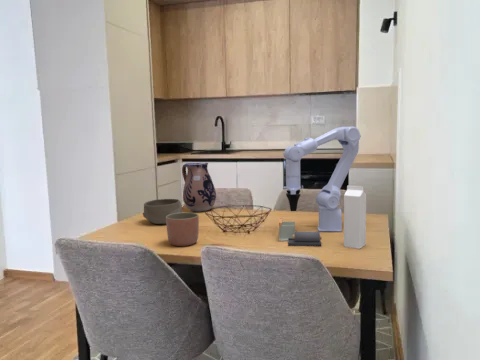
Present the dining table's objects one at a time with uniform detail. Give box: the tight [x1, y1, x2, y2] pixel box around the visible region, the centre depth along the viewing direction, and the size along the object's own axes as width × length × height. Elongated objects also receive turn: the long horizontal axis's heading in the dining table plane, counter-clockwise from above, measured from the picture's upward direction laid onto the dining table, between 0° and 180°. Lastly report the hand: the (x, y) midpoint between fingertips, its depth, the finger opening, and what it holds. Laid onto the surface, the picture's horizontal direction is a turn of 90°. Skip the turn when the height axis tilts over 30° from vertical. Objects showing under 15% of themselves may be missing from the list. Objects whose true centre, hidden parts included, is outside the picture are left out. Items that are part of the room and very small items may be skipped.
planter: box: [165, 211, 200, 247], centre depth 163 cm, size 12×12×11 cm
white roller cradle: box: [278, 221, 296, 242], centre depth 167 cm, size 14×9×6 cm, turn 83°
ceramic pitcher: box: [181, 162, 217, 213], centre depth 226 cm, size 18×21×25 cm
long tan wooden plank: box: [278, 217, 284, 227], centre depth 166 cm, size 1×9×1 cm, turn 173°
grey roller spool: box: [293, 231, 323, 243], centre depth 158 cm, size 11×4×4 cm, turn 83°
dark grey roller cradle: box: [287, 238, 322, 247], centre depth 159 cm, size 12×6×1 cm, turn 83°
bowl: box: [142, 198, 183, 225], centre depth 200 cm, size 17×18×10 cm
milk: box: [343, 184, 367, 250], centre depth 153 cm, size 6×6×22 cm
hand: (293, 209), depth 174 cm, fingers open, 7 cm apart
